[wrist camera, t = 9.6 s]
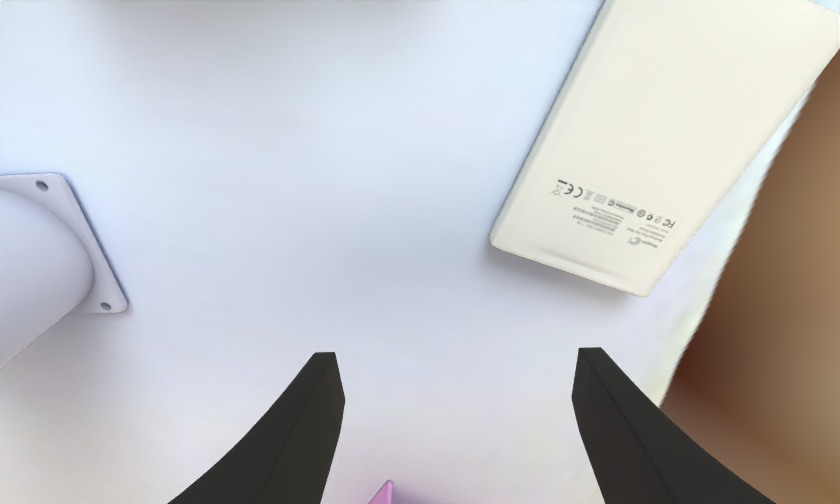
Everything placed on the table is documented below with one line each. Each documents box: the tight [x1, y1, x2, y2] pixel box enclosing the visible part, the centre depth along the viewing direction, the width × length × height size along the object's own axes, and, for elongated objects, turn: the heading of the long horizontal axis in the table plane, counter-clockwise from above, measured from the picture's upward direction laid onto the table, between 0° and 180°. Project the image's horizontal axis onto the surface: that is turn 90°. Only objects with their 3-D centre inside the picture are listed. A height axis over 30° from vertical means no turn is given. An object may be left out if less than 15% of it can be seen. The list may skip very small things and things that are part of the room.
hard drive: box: [489, 0, 840, 297], centre depth 18 cm, size 2×8×12 cm
